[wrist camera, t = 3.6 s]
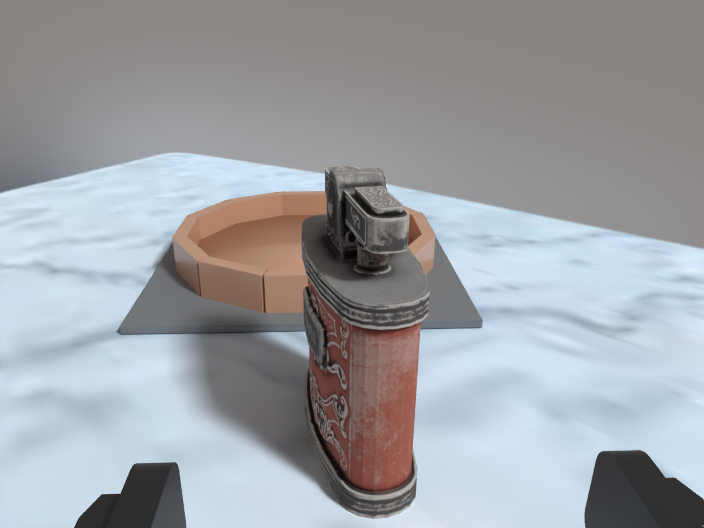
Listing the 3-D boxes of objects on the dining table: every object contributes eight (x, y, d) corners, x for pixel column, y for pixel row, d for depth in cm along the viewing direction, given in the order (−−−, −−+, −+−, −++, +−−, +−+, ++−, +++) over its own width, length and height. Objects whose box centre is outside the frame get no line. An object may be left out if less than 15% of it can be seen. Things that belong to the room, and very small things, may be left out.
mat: (120, 334, 28) (119, 327, 28) (192, 219, 45) (191, 214, 45) (481, 327, 30) (482, 320, 29) (421, 217, 46) (422, 212, 46)
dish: (151, 315, 30) (146, 277, 29) (204, 218, 44) (202, 191, 43) (453, 309, 30) (457, 273, 30) (409, 217, 45) (410, 191, 44)
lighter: (293, 381, 25) (285, 149, 21) (368, 371, 26) (374, 145, 22) (334, 527, 18) (334, 216, 14) (437, 507, 19) (464, 208, 15)
